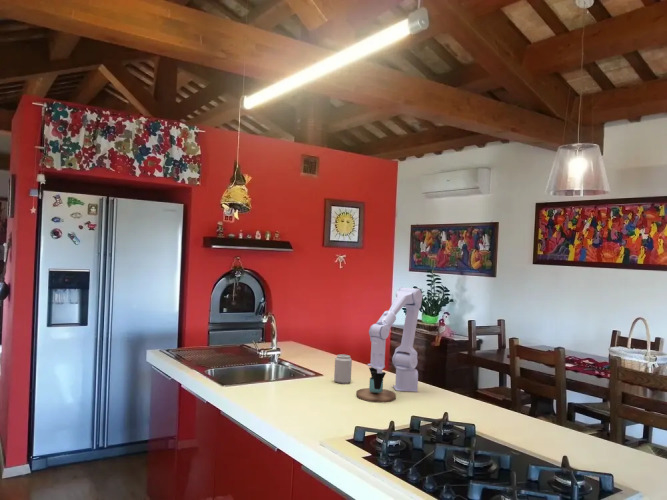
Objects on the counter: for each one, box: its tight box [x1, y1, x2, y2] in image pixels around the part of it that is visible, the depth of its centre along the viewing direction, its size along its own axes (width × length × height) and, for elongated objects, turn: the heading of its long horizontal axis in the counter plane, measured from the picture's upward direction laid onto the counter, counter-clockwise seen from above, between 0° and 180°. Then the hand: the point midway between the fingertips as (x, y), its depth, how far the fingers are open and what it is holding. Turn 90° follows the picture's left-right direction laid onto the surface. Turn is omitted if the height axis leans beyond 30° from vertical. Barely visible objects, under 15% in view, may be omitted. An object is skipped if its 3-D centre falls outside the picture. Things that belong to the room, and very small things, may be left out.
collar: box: [368, 376, 384, 393], centre depth 218 cm, size 5×5×5 cm
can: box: [333, 354, 353, 385], centre depth 240 cm, size 8×8×12 cm
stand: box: [355, 387, 397, 403], centre depth 218 cm, size 16×16×6 cm
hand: (376, 387), depth 218 cm, fingers closed on collar, 5 cm apart
